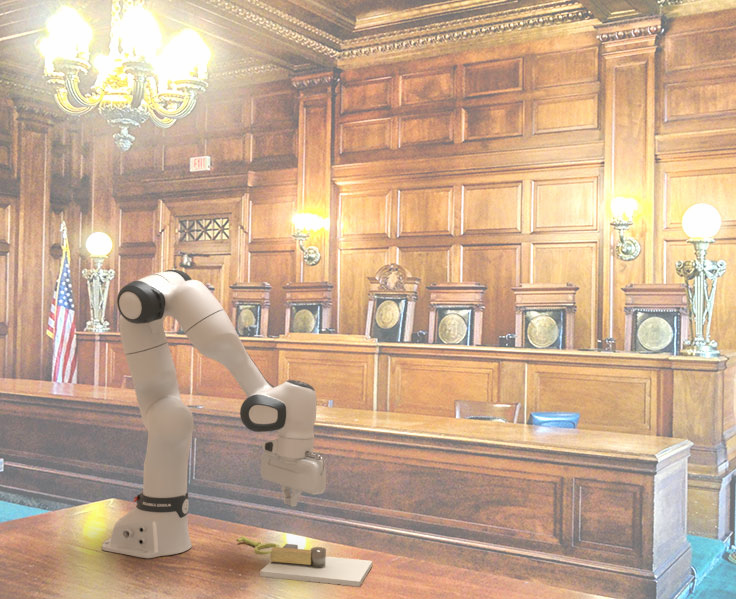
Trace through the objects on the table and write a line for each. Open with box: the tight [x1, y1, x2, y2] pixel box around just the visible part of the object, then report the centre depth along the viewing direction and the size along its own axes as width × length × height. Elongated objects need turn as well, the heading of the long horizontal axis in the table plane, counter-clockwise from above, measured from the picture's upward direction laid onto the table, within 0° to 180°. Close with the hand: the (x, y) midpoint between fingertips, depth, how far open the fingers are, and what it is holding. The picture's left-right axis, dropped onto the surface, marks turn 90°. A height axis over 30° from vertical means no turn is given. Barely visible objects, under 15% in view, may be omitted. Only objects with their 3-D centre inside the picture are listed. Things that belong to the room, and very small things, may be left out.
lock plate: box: [259, 543, 374, 588], centre depth 193 cm, size 24×15×4 cm, turn 78°
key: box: [236, 535, 280, 555], centre depth 208 cm, size 7×12×2 cm, turn 70°
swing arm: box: [270, 546, 327, 567], centre depth 193 cm, size 13×4×4 cm, turn 80°
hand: (290, 505), depth 193 cm, fingers closed
